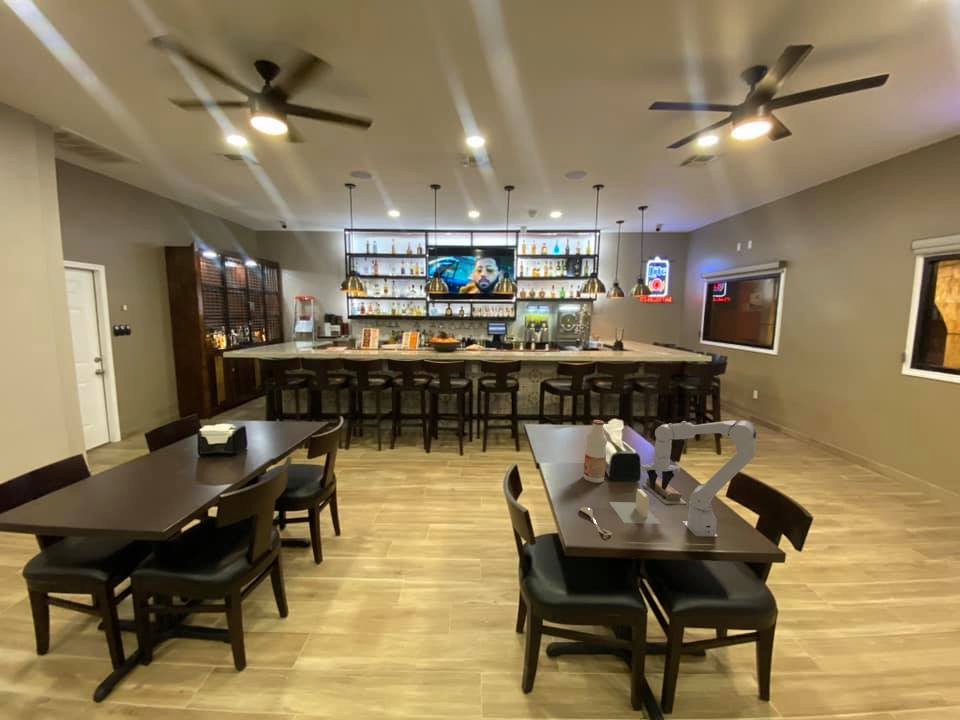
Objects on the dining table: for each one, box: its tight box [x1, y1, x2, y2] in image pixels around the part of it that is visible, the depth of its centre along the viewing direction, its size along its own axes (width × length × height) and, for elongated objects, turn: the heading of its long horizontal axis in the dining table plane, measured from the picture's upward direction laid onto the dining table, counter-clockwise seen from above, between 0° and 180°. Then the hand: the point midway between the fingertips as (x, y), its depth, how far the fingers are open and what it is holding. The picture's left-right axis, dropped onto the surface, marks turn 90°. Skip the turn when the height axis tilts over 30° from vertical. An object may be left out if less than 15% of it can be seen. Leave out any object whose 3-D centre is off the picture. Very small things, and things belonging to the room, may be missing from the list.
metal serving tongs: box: [579, 506, 613, 536], centre depth 146 cm, size 20×4×5 cm
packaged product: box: [642, 477, 687, 505], centre depth 172 cm, size 18×5×10 cm
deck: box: [635, 488, 650, 517], centre depth 154 cm, size 7×2×8 cm, turn 2°
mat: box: [608, 501, 662, 525], centre depth 155 cm, size 16×14×1 cm
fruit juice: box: [582, 419, 608, 484], centre depth 184 cm, size 9×9×28 cm
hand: (658, 488), depth 154 cm, fingers open, 4 cm apart
